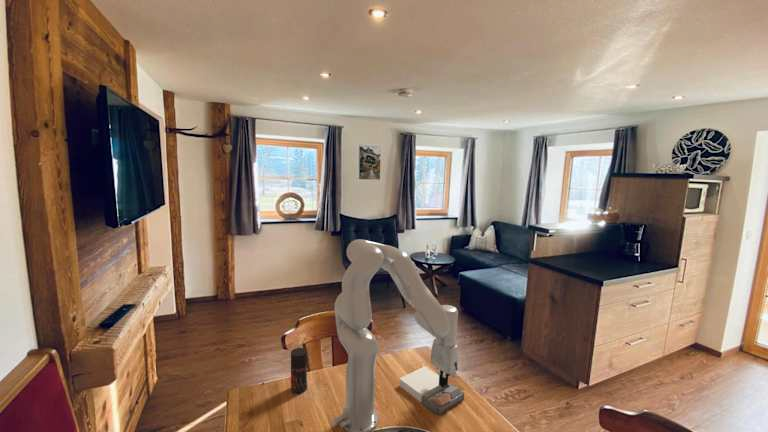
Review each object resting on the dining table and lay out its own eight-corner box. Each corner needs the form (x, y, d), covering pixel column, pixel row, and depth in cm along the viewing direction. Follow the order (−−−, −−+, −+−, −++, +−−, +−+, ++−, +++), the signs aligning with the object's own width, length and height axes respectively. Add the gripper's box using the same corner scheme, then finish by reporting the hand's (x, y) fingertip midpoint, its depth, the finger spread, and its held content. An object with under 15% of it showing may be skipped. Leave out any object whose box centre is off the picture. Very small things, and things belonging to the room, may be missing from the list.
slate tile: (440, 391, 126) (442, 397, 126) (450, 392, 122) (452, 398, 122) (449, 386, 129) (451, 391, 129) (459, 387, 125) (461, 393, 125)
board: (421, 402, 123) (421, 394, 123) (399, 385, 132) (399, 378, 132) (446, 387, 132) (447, 380, 131) (424, 372, 141) (424, 366, 141)
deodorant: (308, 392, 127) (308, 354, 125) (291, 395, 125) (291, 357, 123) (305, 382, 132) (305, 346, 130) (290, 385, 130) (289, 349, 128)
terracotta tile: (430, 399, 122) (432, 405, 121) (440, 399, 118) (441, 405, 117) (440, 393, 125) (441, 399, 124) (449, 393, 121) (451, 399, 120)
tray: (438, 415, 117) (438, 409, 116) (421, 402, 123) (421, 396, 123) (463, 399, 126) (464, 393, 125) (447, 388, 132) (447, 382, 131)
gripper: (424, 334, 129) (421, 378, 131) (455, 351, 117) (452, 399, 120) (437, 328, 133) (435, 372, 136) (468, 344, 122) (465, 391, 124)
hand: (443, 384), depth 128 cm, fingers closed
